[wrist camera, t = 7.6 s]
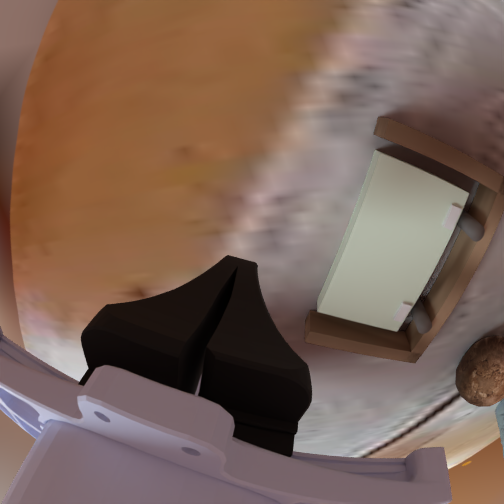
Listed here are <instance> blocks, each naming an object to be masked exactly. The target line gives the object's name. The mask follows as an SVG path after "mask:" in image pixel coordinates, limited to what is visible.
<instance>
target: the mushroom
mask: <svg viewBox="0 0 504 504" xmlns="http://www.w3.org/2000/svg"><path fill="white" fill-rule="evenodd" d="M456 387H457V389H458V391H459V393H460V395H461V397H462V398H464V399H465V400H466V401H467V402H469V403H470V404H473V405H476V406H491V405H493V404H495V403H497V402H499V401H501V400H502V399H503V398H504V337H501V336H491V337H486V338H483V339H481V340H480V341H478V342H477V343H475V344H474V345H472V346H471V348H470V349H469V350H468V351H467V352H466V354H465V355H464V356H463V358H462V360H461V362H460V363H459V365H458V367H457V369H456Z"/></svg>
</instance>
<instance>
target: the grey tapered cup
mask: <svg viewBox="0 0 504 504" xmlns="http://www.w3.org/2000/svg"><path fill="white" fill-rule="evenodd" d="M495 412H496V418H497V422H498V427H499V430H500V438H501V443H502V445H503V456H504V399H503V400H502V401H501V402H500V403H499V405H498V406H497V408H496V411H495Z"/></svg>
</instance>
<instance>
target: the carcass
mask: <svg viewBox="0 0 504 504" xmlns="http://www.w3.org/2000/svg"><path fill="white" fill-rule="evenodd" d="M374 135H376V136H379V137H381V138H384V139H386V140H389V141H391V142H394V143H396V144H399V145H401V146H404V147H406V148H409V149H411V150H413V151H416V152H418V153H420V154H423V155H425V156H427V157H429V158H432V159H434V160H436V161H438V162H440V163H442V164H444V165H446V166H448V167H451V168H453V169H455V170H457V171H459V172H461V173H462V174H464V175H466V176H468V177H470V178H472V179H474V180H476V181H478V182H479V186H478V189H477V192H476V194H475V197H474V200H473V202H472V205H471V207H470V210H469V212H468V213H467V212H466V211H464V210H462V213H461V215H460V217H459V219H458V222H457V225H458V226H459V227H460V228H461V231H460V233H459V235H458V237H457V239H456V242H455V244H454V246H453V248H452V250H451V252H450V254H449V256H448V258H447V260H446V262H445V264H444V266H443V268H442V270H441V272H440V274H439V275H438V277H437V279H436V281H435V283H434V285H433V286H432V288H431V290H430V292H429V294H428V295H427V297H426V299H425V300H424V302H423V303H422V301H421V299H419V298H418V299H417V301H416V303H415V304H414V306H413V307H412V309H411V314H412V317H413V320H412V322H411V323H410V325H409V326H408V328H407V329H406V331H405V332H403V331H399V330H398V331H397V332H396V331H392V330H388V329H383V328H379V327H375V326H371V325H367V324H363V323H359V322H355V321H351V320H347V319H343V318H339V317H335V316H331V315H328V314H324V313H320V312H316V311H312V310H310V312H309V314H308V316H307V318H306V321H305V342H306V343H311V344H315V345H320V346H324V347H329V348H333V349H338V350H343V351H348V352H353V353H358V354H363V355H369V356H374V357H380V358H386V359H391V360H397V361H404V362H410V363H416V361H417V360H418V359H419V357H420V356H421V355H422V354H423V352H424V351H425V350H426V348H427V347H428V345H429V344H430V343H431V341H432V340H433V339H434V337H435V336H436V334H437V333H438V331H439V330H440V329H441V327H442V326H443V324H444V323H445V321H446V320H447V318H448V317H449V315H450V313H451V312H452V310H453V309H454V307H455V306H456V304H457V302H458V301H459V299H460V297H461V296H462V294H463V292H464V291H465V289H466V287H467V285H468V284H469V282H470V280H471V278H472V277H473V275H474V273H475V271H476V269H477V267H478V265H479V263H480V262H481V260H482V258H483V256H484V254H485V252H486V250H487V248H488V245H489V243H490V241H491V239H492V237H493V235H494V233H495V230H496V228H497V226H498V223H499V221H500V219H501V216H502V214H503V211H504V177H503V176H502V175H500V174H499V173H497V172H495V171H494V170H492V169H491V168H489V167H487V166H486V165H484V164H482V163H480V162H479V161H477V160H475V159H473V158H472V157H470V156H468V155H466V154H464V153H463V152H461V151H459V150H457V149H455V148H453V147H451V146H449V145H447V144H445V143H443V142H441V141H439V140H437V139H435V138H433V137H431V136H429V135H427V134H424V133H422V132H420V131H418V130H415V129H413V128H411V127H409V126H406V125H404V124H401V123H399V122H397V121H394V120H392V119H389V118H382V117H378V120H377V124H376V127H375V131H374Z"/></svg>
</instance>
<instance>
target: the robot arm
mask: <svg viewBox="0 0 504 504" xmlns="http://www.w3.org/2000/svg"><path fill="white" fill-rule="evenodd" d="M257 267H258V265H257V264H256V263H255V262H251V261H248V260H244V259H240V258H237V257H233V256H229V255H227V256H225V257H224V258H223V259H222V260H220V261H219V262H218V263H217V264H215V265H214V266H213V267H211V268H210V269H209V270H207V271H206V272H204V273H203V274H201V275H200V276H198V277H196V278H195V279H193V280H191V281H190V282H188V283H186V284H184V285H182V286H180V287H178V288H176V289H174V290H171V291H168V292H165V293H163V294H160V295H157V296H154V297H150V298H146V299H142V300H137V301H132V302H125V303H117V304H107V305H106V306H105V307H104V308H102V309H101V310H100V311H99V312H98V313H97V315H96V316H95V317H94V318H93V319H92V321H91V322H90V323H89V324H88V325H87V327H86V328H85V329H84V330H83V332H82V335H81V343H82V348H83V351H84V355H85V358H86V362H87V365H88V368H89V369H88V370H87V371H86V373H85V374H84V376H83V377H82V379H81V380H80V382H79V381H77V380H75V379H73V378H71V377H69V376H67V375H66V374H64V373H62V372H60V371H58V370H57V369H55V368H53V367H52V366H50V365H48V364H47V363H45V362H43V361H42V360H40V359H38V358H37V357H35V356H34V355H32V354H30V353H29V352H27V351H26V350H24V349H23V348H21V347H20V346H18V345H17V344H15V343H14V342H13V341H11V340H10V339H8V338H7V337H6V336H4V335H3V332H2V329H1V327H0V409H1V410H2V411H3V412H4V413H5V414H6V415H7V416H8V417H10V418H11V419H12V420H13V421H14V422H15V423H17V424H18V425H19V426H20V427H21V428H23V429H24V430H25V431H26V432H28V433H29V434H30V435H32V436H33V437H34V438H35V439H37V440H36V441H35V443H34V445H33V446H32V448H31V450H30V451H29V453H28V455H27V457H26V458H25V460H24V462H23V464H22V465H21V467H20V469H19V471H18V473H17V475H16V477H15V478H14V480H13V482H12V484H11V486H10V488H9V490H8V492H7V493H6V495H5V498H4V499H3V501H2V503H1V504H447V503H449V502H451V500H452V495H451V487H450V481H449V474H448V468H447V462H446V457H445V451H444V447H432V448H421V449H417V450H415V451H413V452H412V453H410V454H409V455H408V456H407V457H406V458H354V457H339V456H327V455H317V454H309V453H301V452H294V451H293V445H294V435H295V434H296V433H297V430H298V421H299V420H300V419H301V417H302V416H303V415H304V413H305V412H306V410H307V409H308V408H309V406H310V403H311V401H312V385H311V378H310V373H309V368H308V365H307V364H306V363H305V362H304V361H303V360H302V359H301V358H300V357H299V356H298V355H297V354H296V353H295V352H294V351H293V350H292V349H291V347H290V346H289V345H288V344H287V343H286V341H285V340H284V338H283V337H282V335H281V334H280V333H279V331H278V330H277V328H276V326H275V324H274V322H273V321H272V319H271V317H270V314H269V312H268V310H267V308H266V305H265V302H264V299H263V296H262V293H261V289H260V285H259V280H258V273H257Z"/></svg>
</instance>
